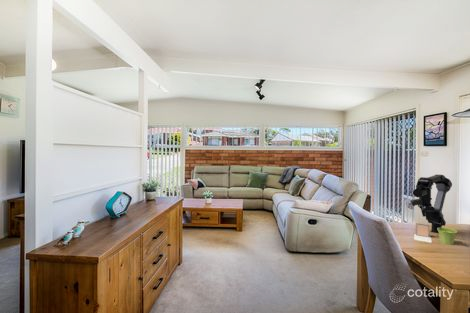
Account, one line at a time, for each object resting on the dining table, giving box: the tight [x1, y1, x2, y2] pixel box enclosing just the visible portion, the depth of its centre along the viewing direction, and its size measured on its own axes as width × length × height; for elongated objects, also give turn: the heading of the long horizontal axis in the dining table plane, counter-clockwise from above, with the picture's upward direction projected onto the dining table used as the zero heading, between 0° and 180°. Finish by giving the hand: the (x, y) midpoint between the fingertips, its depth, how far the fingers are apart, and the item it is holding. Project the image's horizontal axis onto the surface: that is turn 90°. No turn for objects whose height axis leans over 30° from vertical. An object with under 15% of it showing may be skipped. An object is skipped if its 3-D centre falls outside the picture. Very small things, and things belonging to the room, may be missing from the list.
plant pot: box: [437, 227, 458, 246], centre depth 152 cm, size 9×9×9 cm
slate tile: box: [415, 223, 430, 237], centre depth 164 cm, size 2×7×8 cm, turn 52°
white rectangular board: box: [413, 233, 432, 244], centre depth 160 cm, size 14×9×1 cm, turn 142°
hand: (425, 218), depth 166 cm, fingers open, 9 cm apart
